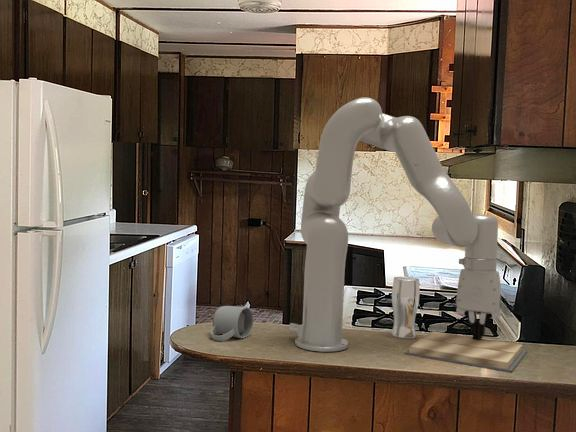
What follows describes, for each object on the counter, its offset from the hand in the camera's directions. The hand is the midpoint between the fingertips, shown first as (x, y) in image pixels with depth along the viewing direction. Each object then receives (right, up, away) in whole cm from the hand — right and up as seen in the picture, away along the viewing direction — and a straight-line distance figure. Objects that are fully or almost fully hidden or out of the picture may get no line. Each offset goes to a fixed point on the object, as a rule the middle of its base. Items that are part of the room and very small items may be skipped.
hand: (477, 338), depth 162 cm
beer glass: (-17, -1, +8) cm, 19 cm away
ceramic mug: (-61, 0, 0) cm, 61 cm away
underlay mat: (-5, -2, -7) cm, 9 cm away
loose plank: (-2, -2, -3) cm, 4 cm away
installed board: (-7, -2, -11) cm, 14 cm away
